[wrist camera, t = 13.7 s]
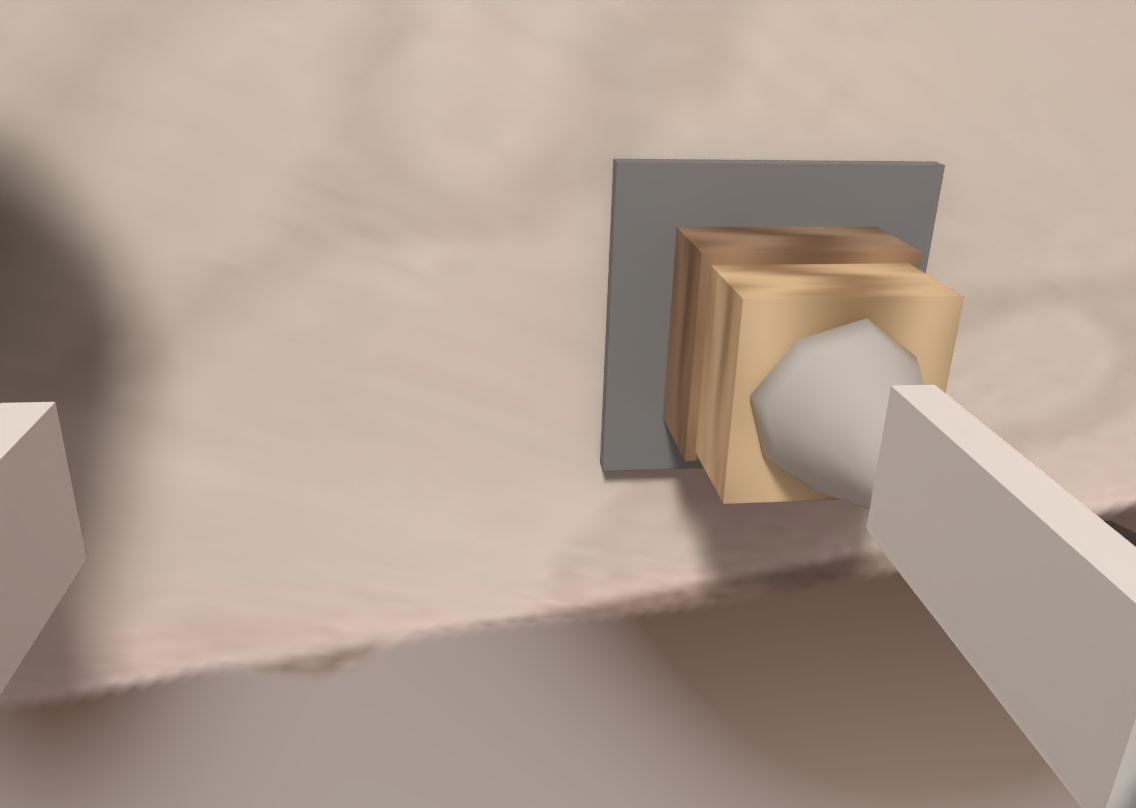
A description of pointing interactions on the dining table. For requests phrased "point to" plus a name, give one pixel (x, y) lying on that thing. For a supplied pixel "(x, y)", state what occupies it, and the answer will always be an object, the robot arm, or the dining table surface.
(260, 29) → the dining table surface
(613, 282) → the grey mat
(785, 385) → the flask
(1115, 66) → the dining table surface
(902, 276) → the oak block
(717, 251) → the walnut block
